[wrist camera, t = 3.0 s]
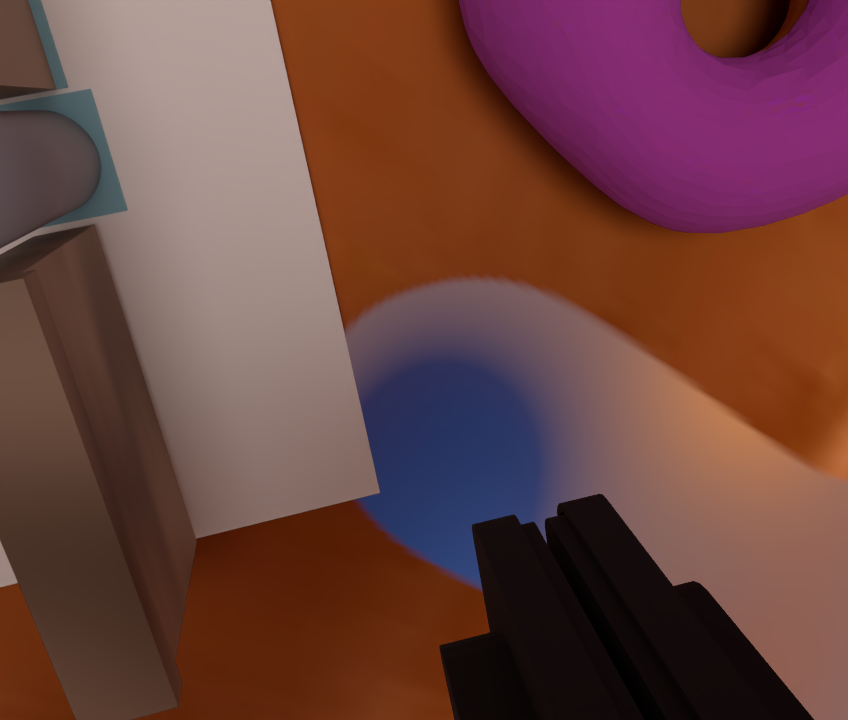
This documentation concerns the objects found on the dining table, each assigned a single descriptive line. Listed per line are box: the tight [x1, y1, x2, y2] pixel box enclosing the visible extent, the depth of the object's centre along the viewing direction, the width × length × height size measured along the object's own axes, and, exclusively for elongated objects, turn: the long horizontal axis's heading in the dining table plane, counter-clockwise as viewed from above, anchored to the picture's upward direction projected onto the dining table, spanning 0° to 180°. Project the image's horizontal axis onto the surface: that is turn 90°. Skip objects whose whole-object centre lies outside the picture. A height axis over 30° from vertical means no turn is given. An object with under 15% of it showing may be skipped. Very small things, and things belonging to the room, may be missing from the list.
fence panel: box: [0, 224, 197, 720], centre depth 14 cm, size 8×2×5 cm, turn 10°
